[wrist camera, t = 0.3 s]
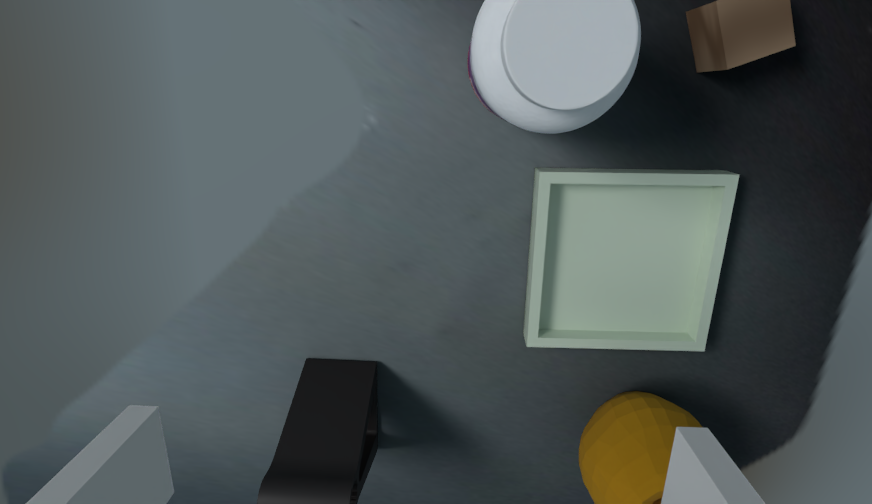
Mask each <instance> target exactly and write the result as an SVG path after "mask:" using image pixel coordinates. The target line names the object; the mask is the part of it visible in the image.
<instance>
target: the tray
mask: <svg viewBox="0 0 872 504" xmlns="http://www.w3.org/2000/svg"><path fill="white" fill-rule="evenodd" d="M738 180H739V174H736V173H732V172H728V171H725V170H674V169H602V168H535V175H534V189H533V204H532V218H531V232H530V246H529V260H528V275H527V289H526V303H525V317H524V331H523V335H524V338H525V342H526V345H527V347H555V348H594V349H633V350H672V351H705V346H706V341H707V336H708V331H709V326H710V321H711V316H712V311H713V306H714V301H715V296H716V291H717V286H718V281H719V276H720V271H721V266H722V261H723V256H724V251H725V245H726V240H727V235H728V230H729V225H730V220H731V215H732V210H733V205H734V200H735V195H736V190H737V185H738Z"/></svg>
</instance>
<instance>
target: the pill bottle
mask: <svg viewBox="0 0 872 504" xmlns="http://www.w3.org/2000/svg"><path fill="white" fill-rule="evenodd" d="M640 42H641V27H640V20H639V14H638V11H637V7H636V5H635V2H634V0H485V1H484V3H483V5H482V7H481V9H480V11H479V13H478V16H477V18H476V21H475V25H474V29H473V34H472V39H471V43H470V47H469V52H468V72H469V78H470V81H471V84H472V87H473V90H474V92H475V94H476V95H477V97H478V99H479V100H480V101H481V103H482V104H483V105H484V106H485V107H486V108H487V109H488V110H489V111H490V112H492V113H493V114H494V115H496V116H498V117H500V118H501V119H504V120H505V121H507V122H509V123H511V124H513V125H514V126H516V127H519V128H522V129H524V130H528V131H531V132H537V133H546V134H554V133H563V132H568V131H572V130H575V129H578V128H580V127H583V126H585V125H587V124H589V123H591V122H592V121H594V120H596V119H597V118H599V117H600V116H601V115H603V114H604V113H605V112H606V111H608V110H609V109H610V108H611V107H612V106H613V105H614V104H615V102H616V101H617V100H618V99H619V98H620V96H621V95H622V94H623V92H624V91H625V89H626V88H627V86H628V84H629V82H630V80H631V78H632V76H633V74H634V71H635V68H636V65H637V61H638V57H639V50H640Z"/></svg>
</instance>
